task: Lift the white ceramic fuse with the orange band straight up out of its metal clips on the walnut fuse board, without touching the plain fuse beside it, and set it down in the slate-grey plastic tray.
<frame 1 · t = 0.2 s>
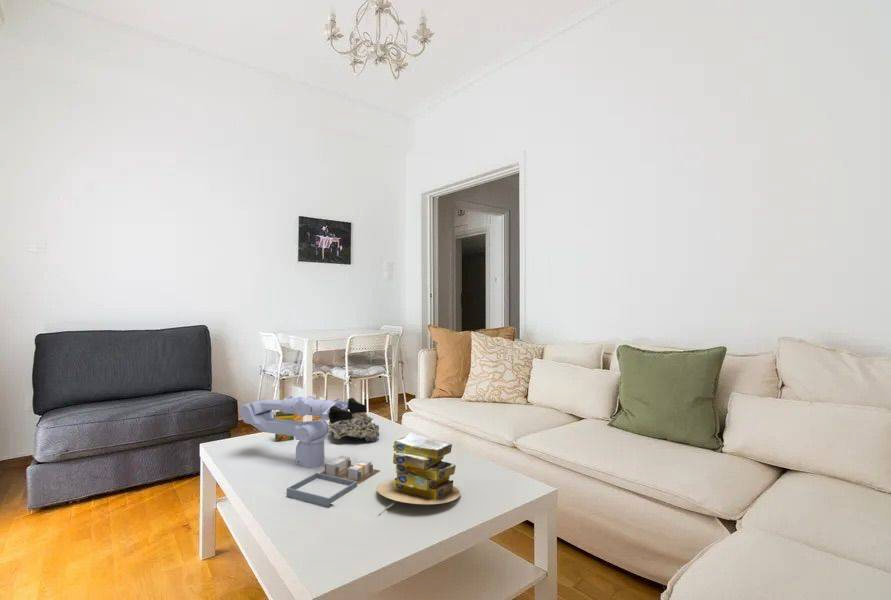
hand: (358, 412, 148), 21 cm above the table, fingers open, 7 cm apart
tray: (322, 493, 136), on the table
plain fuse: (338, 470, 151), point 1 cm above the table, touching fuse board
crayon box: (284, 440, 186), on the table
marked fuse: (360, 475, 147), point 1 cm above the table, touching fuse board
stacked boxes on plate: (418, 496, 134), on the table
fuse board: (348, 475, 149), on the table
decorative rock: (353, 436, 192), on the table
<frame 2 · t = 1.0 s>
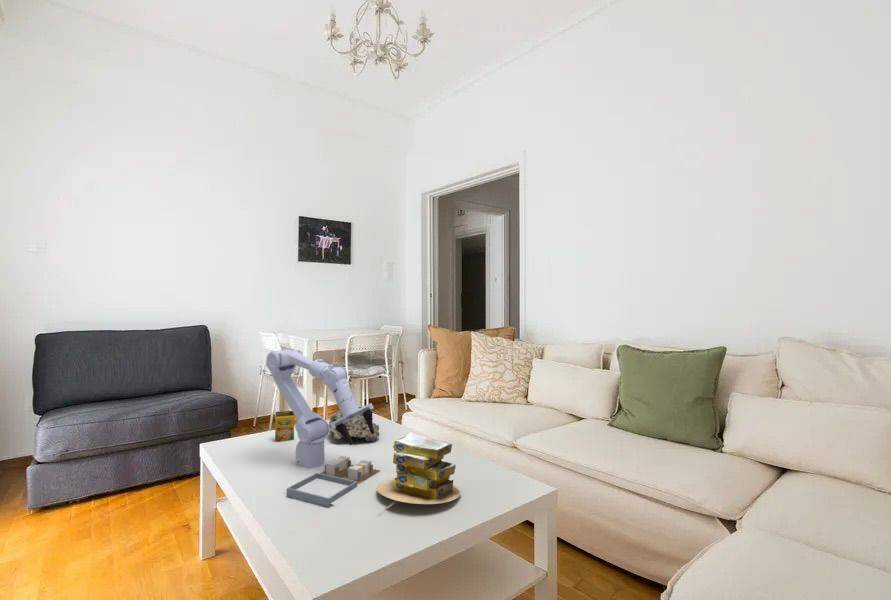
hand: (362, 439, 147), 13 cm above the table, fingers open, 7 cm apart
nothing on the table moved.
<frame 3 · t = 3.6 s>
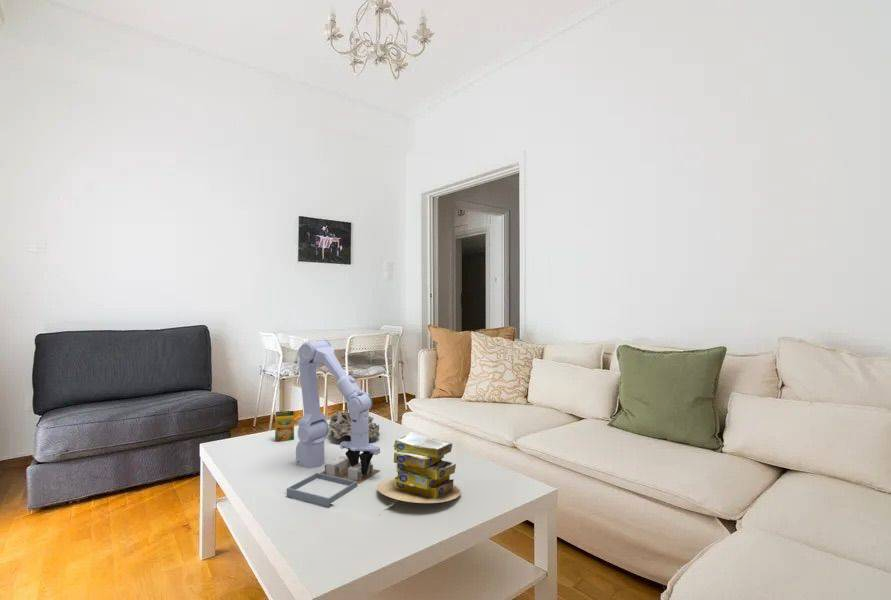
hand: (360, 472, 147), 2 cm above the table, fingers closed on marked fuse, 3 cm apart
marked fuse: (360, 475, 147), point 1 cm above the table, touching fuse board, gripper
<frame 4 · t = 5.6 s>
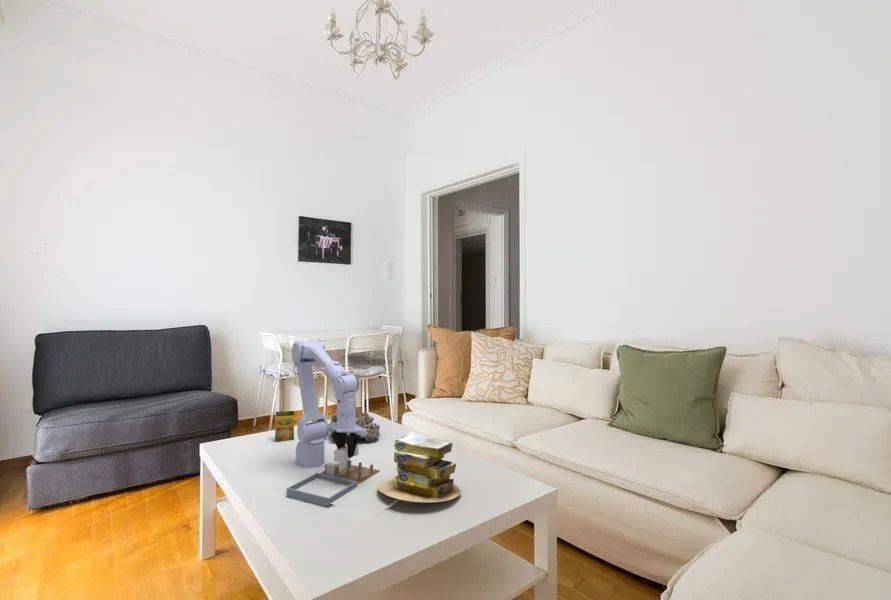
hand: (346, 455, 143), 9 cm above the table, fingers closed on marked fuse, 3 cm apart
marked fuse: (346, 457, 143), point 8 cm above the table, touching gripper
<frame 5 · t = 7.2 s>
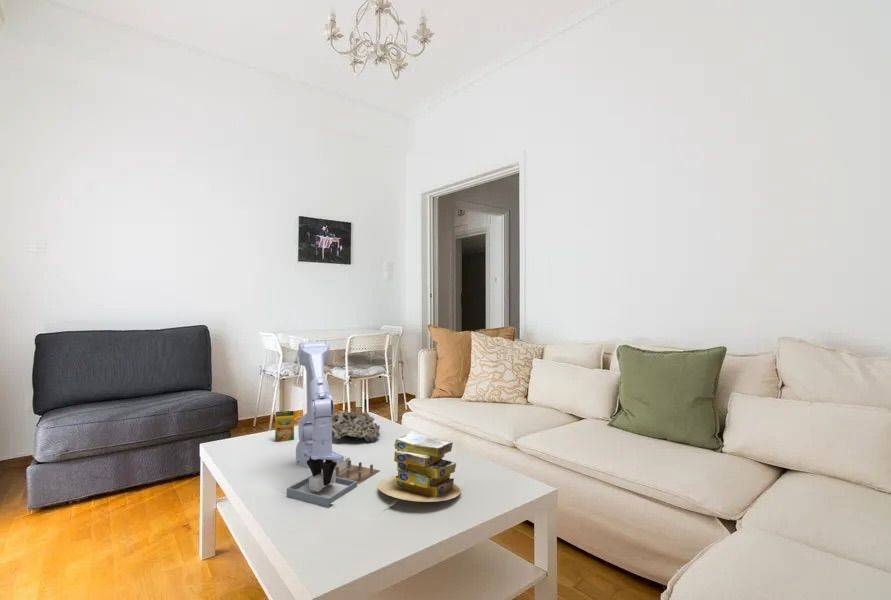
hand: (322, 483, 136), 3 cm above the table, fingers closed on marked fuse, 3 cm apart
marked fuse: (322, 485, 136), point 2 cm above the table, touching gripper
when the fingers open (2 cm above the table, at t = 8.1 s): marked fuse stays where it is, resting on tray.
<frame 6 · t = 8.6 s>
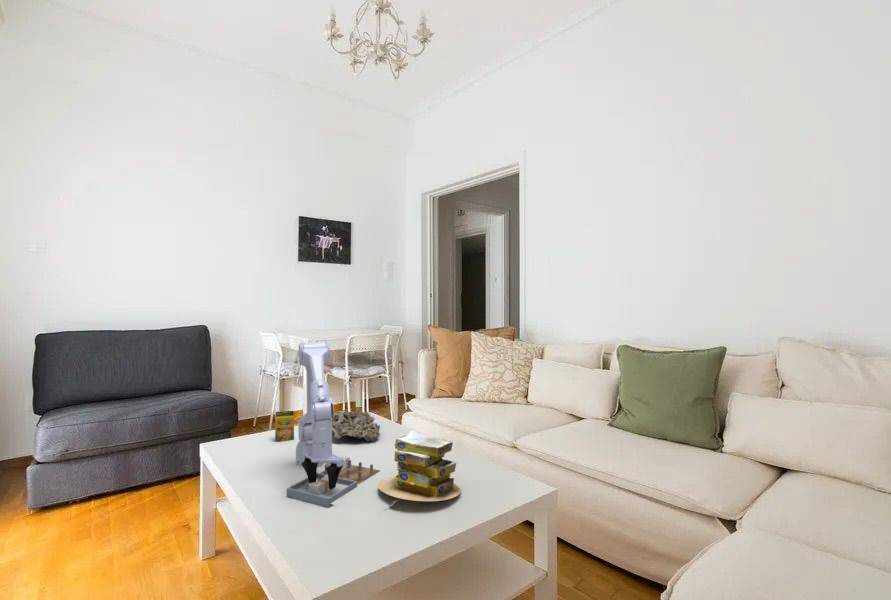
hand: (322, 485, 136), 2 cm above the table, fingers open, 7 cm apart
marked fuse: (322, 491, 136), resting on tray
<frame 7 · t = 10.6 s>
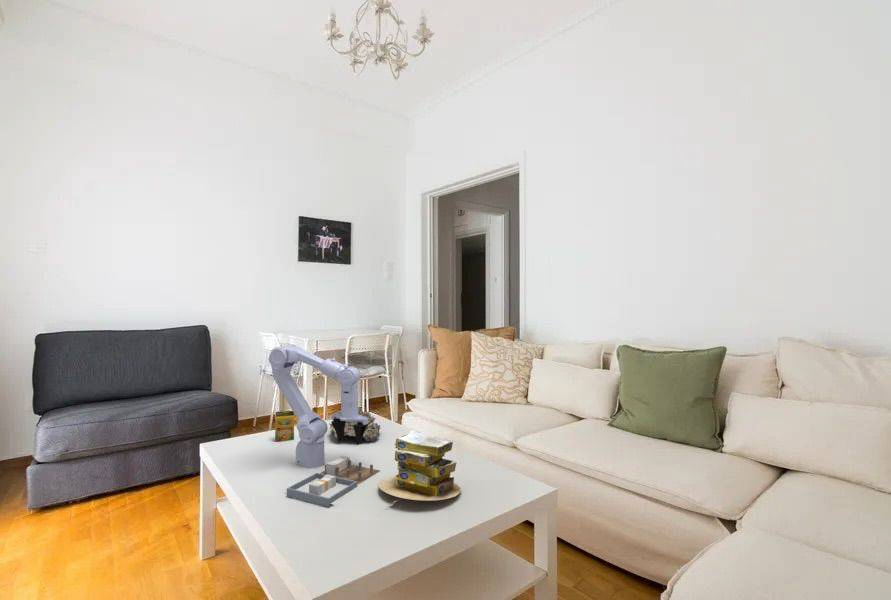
hand: (349, 442, 154), 9 cm above the table, fingers open, 7 cm apart
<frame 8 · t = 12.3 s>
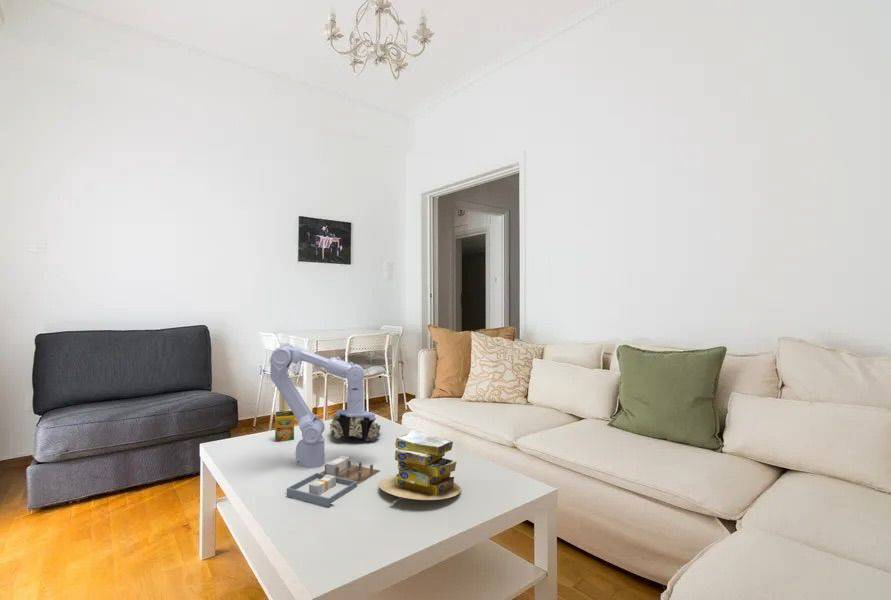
hand: (355, 437, 159), 9 cm above the table, fingers open, 7 cm apart
at the end: marked fuse inside the target area on the tray (0.1 cm from its centre), point 0.5 cm above the tray's base; the gripper is holding nothing; plain fuse moved 0.0 cm from its start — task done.
